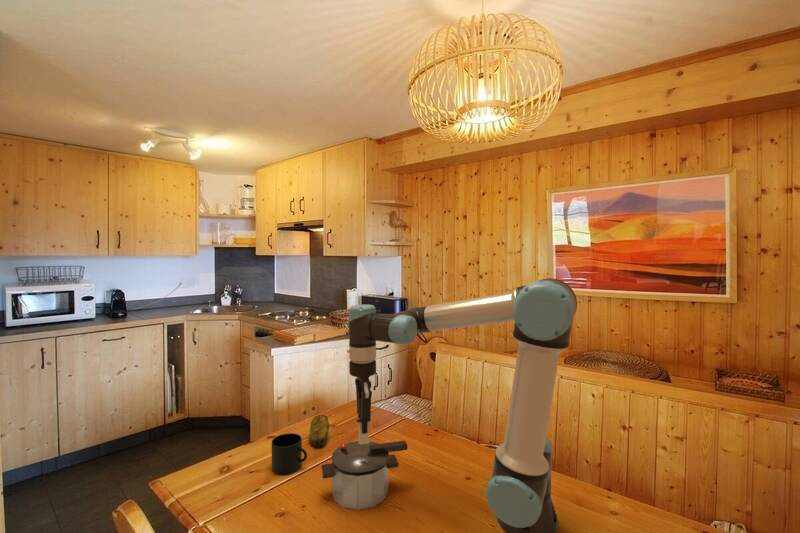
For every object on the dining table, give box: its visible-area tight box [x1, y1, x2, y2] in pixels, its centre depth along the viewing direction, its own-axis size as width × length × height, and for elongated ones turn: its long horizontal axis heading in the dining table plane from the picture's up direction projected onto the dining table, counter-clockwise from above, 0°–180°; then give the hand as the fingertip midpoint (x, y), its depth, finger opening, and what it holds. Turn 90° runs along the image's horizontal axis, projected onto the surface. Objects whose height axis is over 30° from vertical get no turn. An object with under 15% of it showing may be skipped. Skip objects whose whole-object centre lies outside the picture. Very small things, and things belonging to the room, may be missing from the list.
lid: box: [331, 440, 408, 473], centre depth 111 cm, size 17×22×3 cm
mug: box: [271, 432, 308, 476], centre depth 123 cm, size 9×12×9 cm
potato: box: [309, 414, 330, 448], centre depth 141 cm, size 8×13×8 cm, turn 172°
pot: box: [321, 454, 399, 511], centre depth 112 cm, size 17×22×9 cm
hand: (363, 442), depth 107 cm, fingers closed
